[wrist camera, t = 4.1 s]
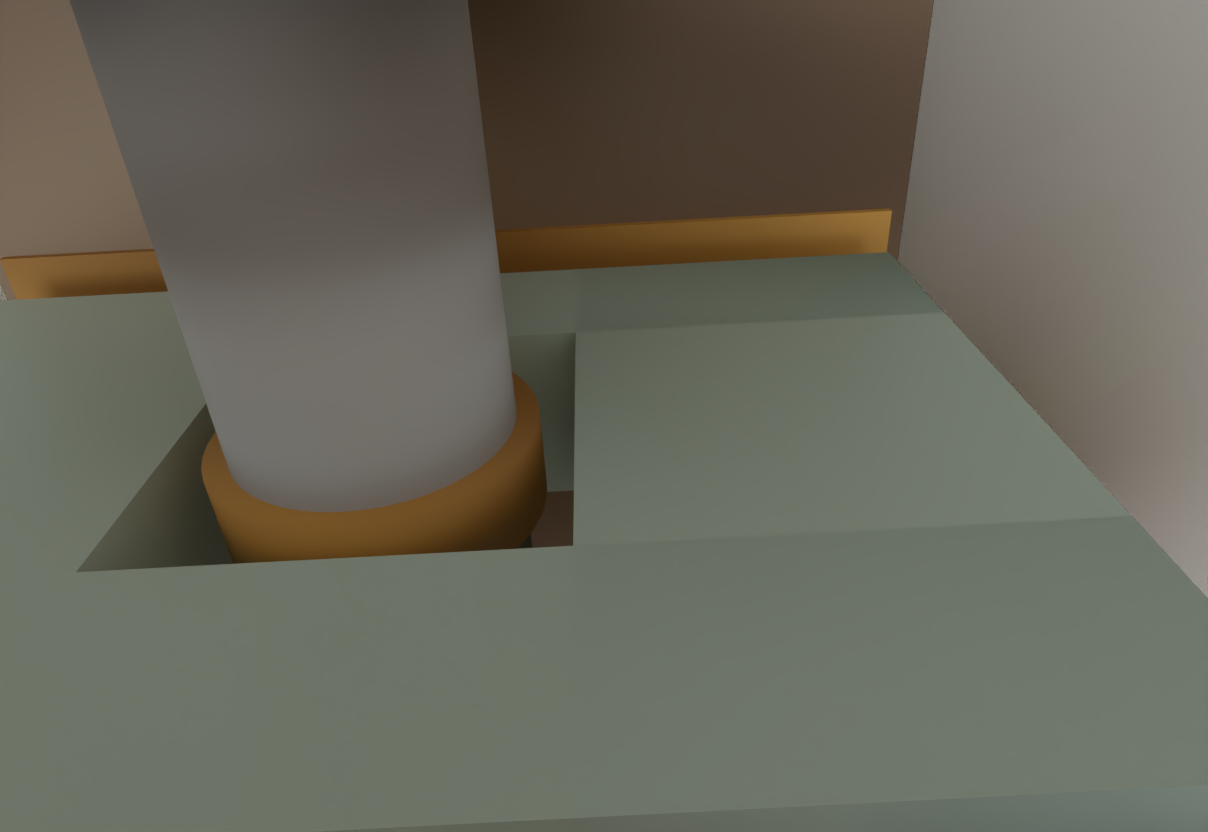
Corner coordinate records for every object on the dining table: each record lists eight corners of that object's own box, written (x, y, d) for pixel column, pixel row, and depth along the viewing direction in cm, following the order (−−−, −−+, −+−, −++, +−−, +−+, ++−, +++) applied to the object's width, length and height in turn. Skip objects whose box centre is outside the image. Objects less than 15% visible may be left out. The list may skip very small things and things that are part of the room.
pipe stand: (806, 790, 19) (913, 1203, 13) (274, 818, 19) (129, 1242, 13) (929, -201, 9) (1535, -407, 3) (-123, -141, 10) (-1328, -241, 4)
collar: (870, 395, 11) (1228, 988, 5) (51, 439, 11) (-601, 1082, 5) (888, 252, 10) (1371, 775, 4) (-13, 301, 10) (-934, 897, 4)
